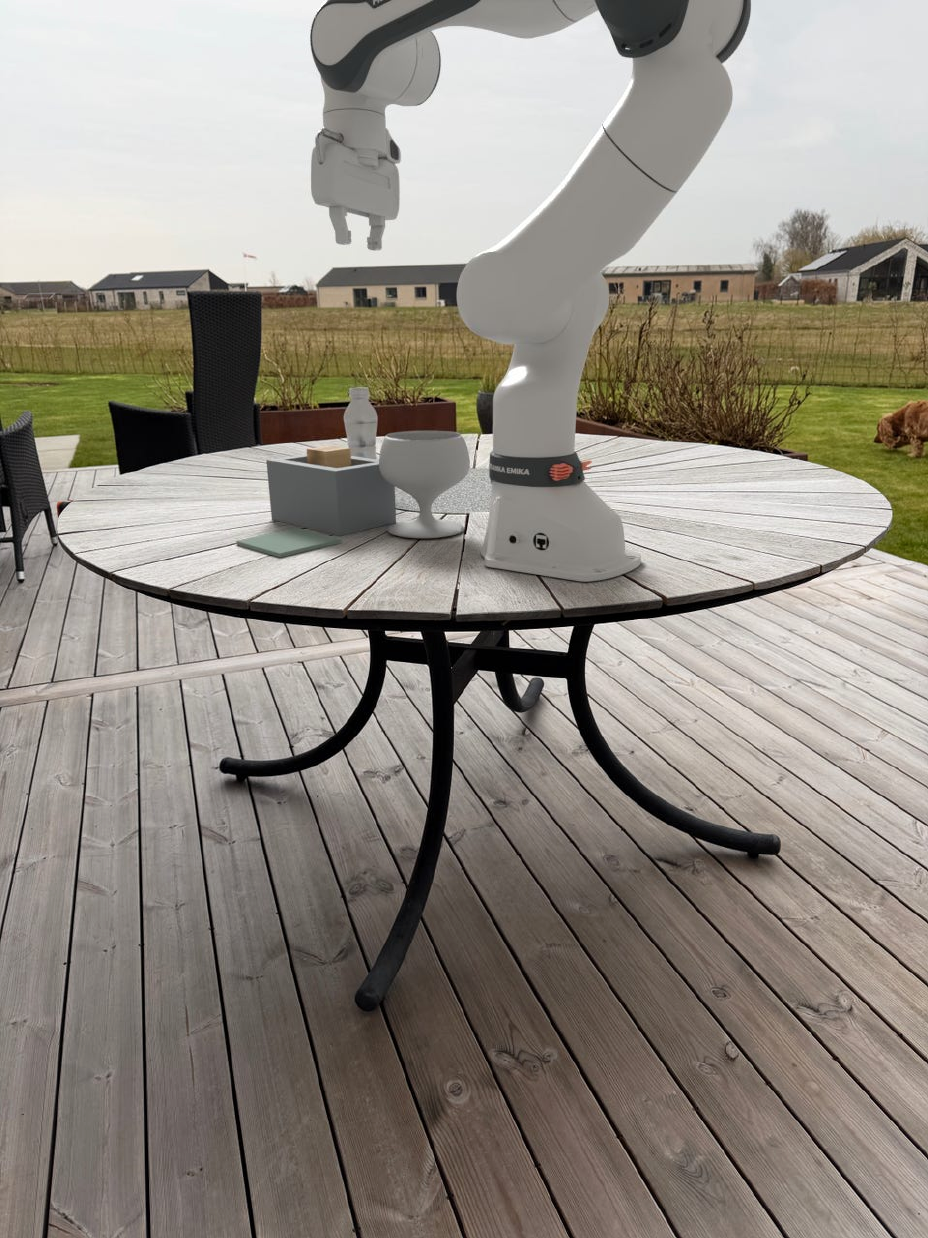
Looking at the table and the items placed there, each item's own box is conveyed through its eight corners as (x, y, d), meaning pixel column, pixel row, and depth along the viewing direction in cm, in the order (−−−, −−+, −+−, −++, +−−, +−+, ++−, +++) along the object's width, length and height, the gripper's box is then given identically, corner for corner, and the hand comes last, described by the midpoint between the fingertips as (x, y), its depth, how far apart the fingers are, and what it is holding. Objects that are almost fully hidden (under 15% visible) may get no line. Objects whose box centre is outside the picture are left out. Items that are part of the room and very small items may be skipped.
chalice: (452, 518, 133) (450, 427, 128) (483, 536, 121) (483, 437, 116) (371, 525, 128) (367, 432, 123) (396, 545, 116) (392, 442, 111)
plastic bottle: (340, 495, 152) (333, 388, 146) (360, 489, 158) (355, 386, 151) (368, 498, 150) (362, 389, 143) (387, 492, 155) (383, 387, 148)
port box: (396, 522, 130) (393, 461, 127) (339, 535, 122) (335, 471, 118) (327, 508, 142) (323, 451, 138) (271, 519, 133) (266, 459, 130)
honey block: (352, 484, 130) (350, 448, 128) (328, 489, 126) (325, 451, 124) (333, 481, 133) (330, 445, 131) (309, 485, 130) (306, 448, 128)
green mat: (341, 542, 118) (341, 538, 118) (280, 557, 110) (279, 553, 110) (297, 531, 125) (296, 527, 125) (236, 544, 117) (236, 540, 117)
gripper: (337, 121, 102) (342, 239, 107) (405, 152, 120) (408, 252, 125) (295, 126, 104) (303, 241, 109) (369, 155, 122) (373, 253, 127)
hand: (359, 247), depth 117 cm, fingers open, 8 cm apart
